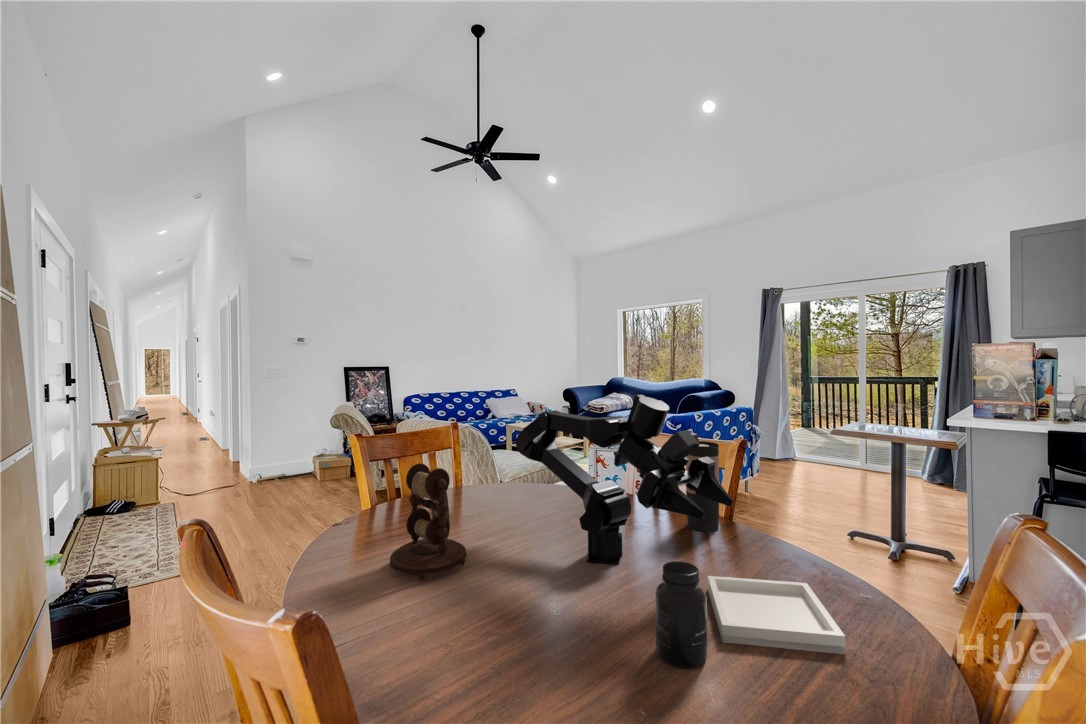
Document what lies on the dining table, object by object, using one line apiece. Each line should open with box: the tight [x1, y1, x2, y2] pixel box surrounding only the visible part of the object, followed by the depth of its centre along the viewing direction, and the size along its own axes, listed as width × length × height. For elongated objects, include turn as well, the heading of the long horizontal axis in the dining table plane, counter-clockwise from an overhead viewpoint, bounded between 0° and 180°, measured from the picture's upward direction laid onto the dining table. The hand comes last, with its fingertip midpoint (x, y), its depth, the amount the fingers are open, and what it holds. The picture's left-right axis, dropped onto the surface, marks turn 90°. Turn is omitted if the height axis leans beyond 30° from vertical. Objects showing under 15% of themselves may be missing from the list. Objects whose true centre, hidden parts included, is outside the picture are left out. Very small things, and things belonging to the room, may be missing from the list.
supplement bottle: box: [655, 560, 708, 669], centre depth 67 cm, size 7×7×12 cm
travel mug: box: [685, 440, 720, 533], centre depth 117 cm, size 8×8×20 cm
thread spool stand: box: [389, 463, 467, 582], centre depth 97 cm, size 15×15×20 cm
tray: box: [707, 575, 846, 655], centre depth 76 cm, size 16×16×2 cm
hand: (718, 509), depth 81 cm, fingers open, 9 cm apart
